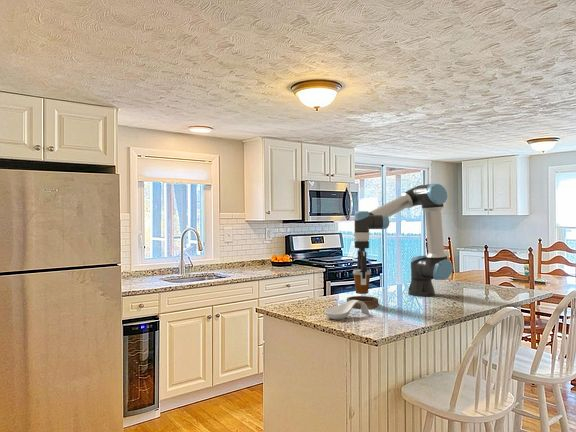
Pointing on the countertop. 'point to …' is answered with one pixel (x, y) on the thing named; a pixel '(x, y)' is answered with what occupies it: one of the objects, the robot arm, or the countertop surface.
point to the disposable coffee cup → (357, 279)
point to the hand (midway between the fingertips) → (361, 283)
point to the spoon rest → (345, 310)
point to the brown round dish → (365, 301)
